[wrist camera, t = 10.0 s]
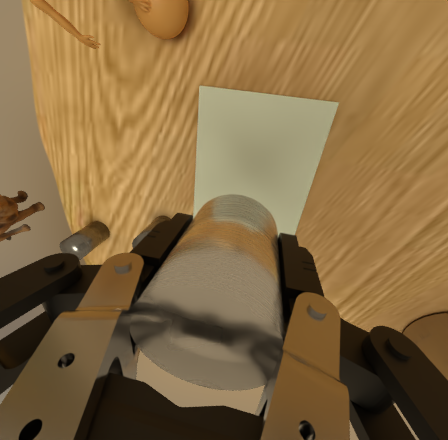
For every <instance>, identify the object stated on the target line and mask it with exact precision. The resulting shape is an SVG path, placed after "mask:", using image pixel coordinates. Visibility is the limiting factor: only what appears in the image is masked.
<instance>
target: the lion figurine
mask: <svg viewBox="0 0 448 440" xmlns="http://www.w3.org/2000/svg"><path fill="white" fill-rule="evenodd" d="M27 197H28V196H27V193H26V192H24V191H18V196H17V197H14V198H9V197H6V196H1V195H0V241H3V240H4V239H7V240H11V236H12V235H15V234H18V233H20V232H24V231H29V230H30V227H29V226H28V225H26V224H24V225H22V226H21V227H19V228H17V229H14V230H11V231H9V232H7V233H4V232H5V231H7V230H8V229H9V227H10V226H11V225H13V224H15V223H16V222H18V221H21V220H23V219H25V218H26V217H28V216H30V215H32V214H33V213H35V212H37V211H40V210H44V209H45V207H44V205H43V204H42V203H41V202H38V203H36V204H33V205H32V206H31V207H29V208H28V209H25V210H22V211H18V210H17V209H18V205H17V204H16V203H21V202H24V201H26V199H27Z"/></svg>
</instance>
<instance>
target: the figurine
mask: <svg viewBox="0 0 448 440" xmlns="http://www.w3.org/2000/svg"><path fill="white" fill-rule="evenodd" d="M30 1H31V2H32V3H33V4H34V5H35V6H36V7H37V8H39V9H40V10H42V11H43V12H45V13H46V14H48V15H49V16H50V17H51V18H53V19H54V20H55V21H56V22H57V23H58V24H59V25H61V26H62V27H63V28H64V29H65V30H66V31H68V32H69V33H71V34H72V35H73V36H75V37H76V38H77V39H78V40H79V41H80V42H82V43H84V44H85V45H87V46H89V47H91V48H94V49H96V48H99V47H98V46H96V45H100V44H99V43H97V42H95V41H92V40H90V39H89V38H94V37H93V36H90V35H81V34H80V33H79V32H78V31H77V30H76V28H75V27H74V26H73V25H72V24H71V23H70V22H69V21H68V20H67V19H66V18H65V17H63V16H62V15H61V14H60V13H58V12H57V11H56V10H55V9H53V8H52V7H51V5H49V4H48V3H47V2H46V1H45V0H30ZM128 1H130V2H132V3H133V4H134V8H135V11H136V14H137V16H138V18H139V20H140V21H141V23H142V24H143V26H144V27H145V28H146V29H147V30H148V31H149V32H150V33H151V34H153V35H154V36H156V37H158V38H161V39H171V38H174V37H176V36H177V35H179V34H180V33H181V31H182V30H183V29H184V27H185V25H186V22H187V18H188V11H189V5H188V0H128ZM94 44H96V45H94Z"/></svg>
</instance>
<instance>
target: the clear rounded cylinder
mask: <svg viewBox="0 0 448 440" xmlns="http://www.w3.org/2000/svg"><path fill="white" fill-rule="evenodd" d="M132 310H133V314H132V318H131V322H130V333H131V336H132V338H133V340H134V342H135V343H136V345H138V348H139V349H140V350H141V351H142V352H143V353H144V355H145V356H146V357H148V358H149V359H150V360H151V361H152V362H153V363H155V364H156V365H157V366H159V367H160V368H162V369H163V370H165V371H166V372H168V373H170V374H172V375H174V376H176V377H178V378H180V379H182V380H185V381H187V382H190V383H193V384H196V385H199V386H204V387H207V388H213V389H219V390H232V391H234V390H248V389H253V388H257V387H260V386H263V385H266V382H267V380H268V381H270V378H271V376H272V374H273V371H274V369H275V366H276V363H277V360H278V357H279V353H280V350H281V348H282V345H283V342H284V335H285V332H284V318H283V303H282V289H281V275H280V260H279V246H278V232H277V226H276V222H275V220H274V218H273V216H272V215H271V213H270V212H269V211H268V209H267V208H266V207H265V206H263V205H262V204H261V203H259V202H258V201H256V200H254V199H252V198H250V197H247V196H243V195H237V194H227V195H221V196H218V197H215V198H213V199H211V200H209V201H208V202H207V203H205V204H204V205H203V206H202V207H201V209H200V210H199V211H198V213H197V214H196V216H195V217H194V219H193V220H192V222H191V223H190V225H189V226H188V227H187V229H186V230H185V232H184V233H183V235H182V236H181V238H180V239H179V241H178V242H177V243H176V245H175V246H174V248H173V249H172V251H171V252H170V254H169V255H168V257H167V258H166V259H165V261H164V262H163V264H162V265H161V267H160V268H159V270H158V271H157V273H156V274H155V275H154V277H153V278H152V280H151V281H150V283H149V284H148V286H147V287H146V289H145V290H144V291H143V293H142V294H141V296H140V297H139V299H138V300H137V302H136V303H135V305H134V306H133V308H132Z"/></svg>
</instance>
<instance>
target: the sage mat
mask: <svg viewBox="0 0 448 440" xmlns="http://www.w3.org/2000/svg"><path fill="white" fill-rule="evenodd" d="M338 104H339V102H330V101H322V100H314V99H306V98H298V97H289V96H281V95H273V94H265V93H257V92H249V91H240V90H232V89H224V88H216V87H208V86H199V107H198V129H197V150H196V171H195V192H194V213H193V219H194V217H195V216H196V214H197V213H198V211H199V210H200V209H201V207H202V206H203V205H204V204H205V203H207V202H208V201H209V200H211V199H213V198H215V197H218V196H221V195H227V194H237V195H243V196H247V197H250V198H252V199H254V200H256V201H258V202H259V203H261V204H262V205H263V206H265V207H266V208H267V209H268V211H269V212H270V213H271V215H272V216H273V218H274V220H275V222H276V226H277V232H278V236H279V234H280V233H285V234H291V235H295V232H296V229H297V226H298V223H299V220H300V217H301V215H302V212H303V209H304V206H305V203H306V200H307V197H308V194H309V191H310V188H311V185H312V182H313V179H314V176H315V173H316V170H317V167H318V164H319V161H320V158H321V155H322V152H323V149H324V146H325V143H326V140H327V137H328V134H329V131H330V128H331V125H332V122H333V119H334V116H335V113H336V110H337V107H338Z"/></svg>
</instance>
